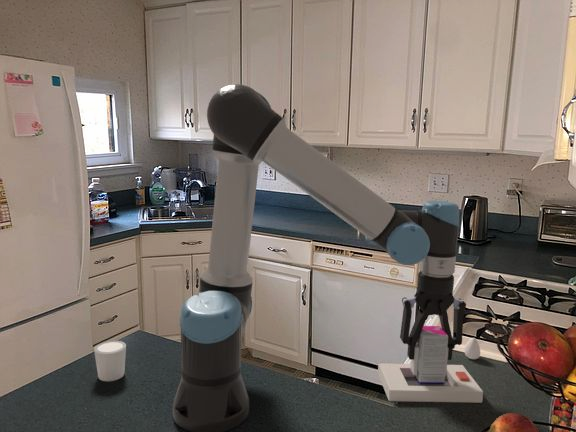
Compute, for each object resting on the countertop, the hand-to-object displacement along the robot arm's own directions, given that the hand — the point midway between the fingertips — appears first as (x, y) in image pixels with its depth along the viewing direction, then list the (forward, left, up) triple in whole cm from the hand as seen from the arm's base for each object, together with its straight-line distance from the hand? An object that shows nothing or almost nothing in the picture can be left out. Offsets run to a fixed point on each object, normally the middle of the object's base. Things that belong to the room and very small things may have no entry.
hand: (428, 372), depth 107 cm
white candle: (-72, +3, -4) cm, 72 cm away
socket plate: (0, 0, -4) cm, 4 cm away
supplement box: (0, 0, -2) cm, 2 cm away
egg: (+16, +15, -4) cm, 22 cm away
